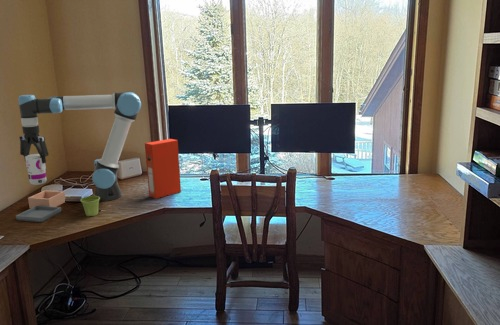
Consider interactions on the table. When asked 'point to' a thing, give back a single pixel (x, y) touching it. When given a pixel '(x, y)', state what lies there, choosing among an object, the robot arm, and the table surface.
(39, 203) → the holder
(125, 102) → the robot arm
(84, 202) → the plant pot
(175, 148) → the file binder
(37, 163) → the supplement can
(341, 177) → the table surface
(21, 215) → the tray
